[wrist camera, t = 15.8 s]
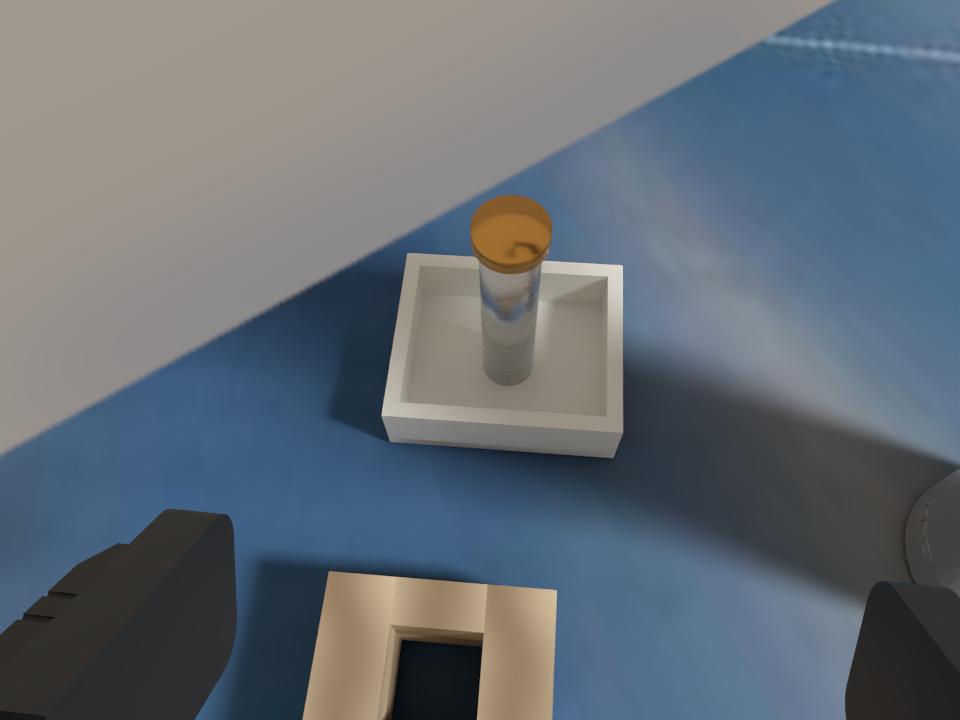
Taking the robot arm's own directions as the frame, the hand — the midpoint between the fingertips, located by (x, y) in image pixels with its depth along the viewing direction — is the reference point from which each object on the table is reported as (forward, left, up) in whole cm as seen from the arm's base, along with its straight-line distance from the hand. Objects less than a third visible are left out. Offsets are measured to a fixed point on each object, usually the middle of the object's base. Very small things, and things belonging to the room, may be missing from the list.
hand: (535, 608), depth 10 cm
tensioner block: (+3, -1, -28) cm, 28 cm away
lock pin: (+1, -18, -27) cm, 33 cm away
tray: (+1, -18, -28) cm, 33 cm away
